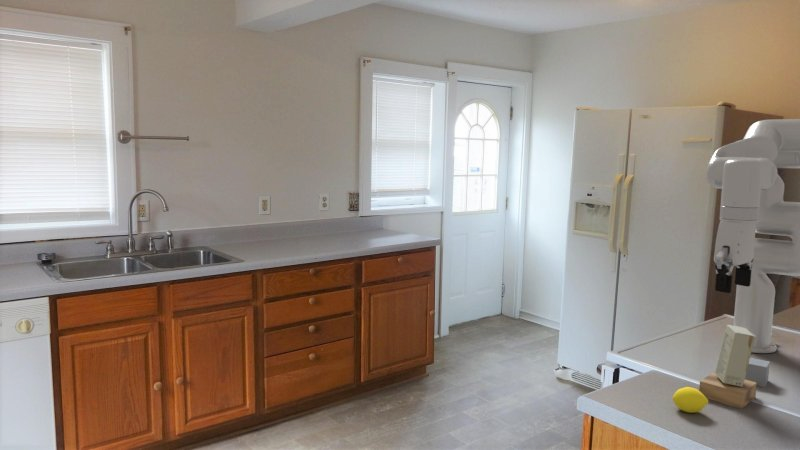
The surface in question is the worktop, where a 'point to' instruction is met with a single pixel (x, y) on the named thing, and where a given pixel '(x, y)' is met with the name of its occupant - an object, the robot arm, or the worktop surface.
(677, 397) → the lemon
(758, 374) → the grey block
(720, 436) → the worktop surface
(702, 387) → the oak block
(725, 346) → the skincare box
